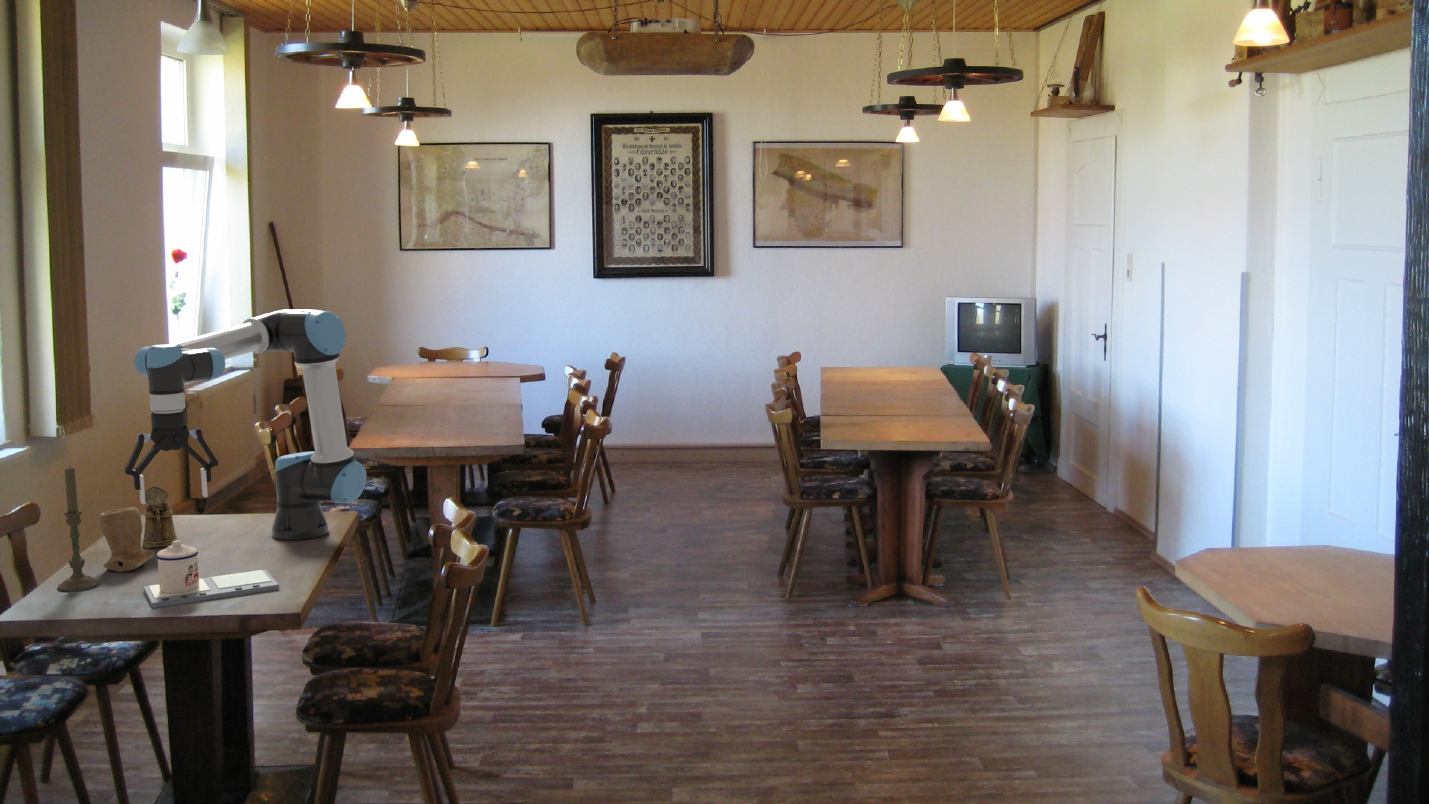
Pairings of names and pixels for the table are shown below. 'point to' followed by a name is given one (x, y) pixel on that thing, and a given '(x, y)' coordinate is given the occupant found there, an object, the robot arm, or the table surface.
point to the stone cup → (124, 539)
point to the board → (215, 588)
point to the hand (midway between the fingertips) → (174, 499)
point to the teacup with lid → (178, 568)
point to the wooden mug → (158, 520)
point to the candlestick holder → (75, 539)
